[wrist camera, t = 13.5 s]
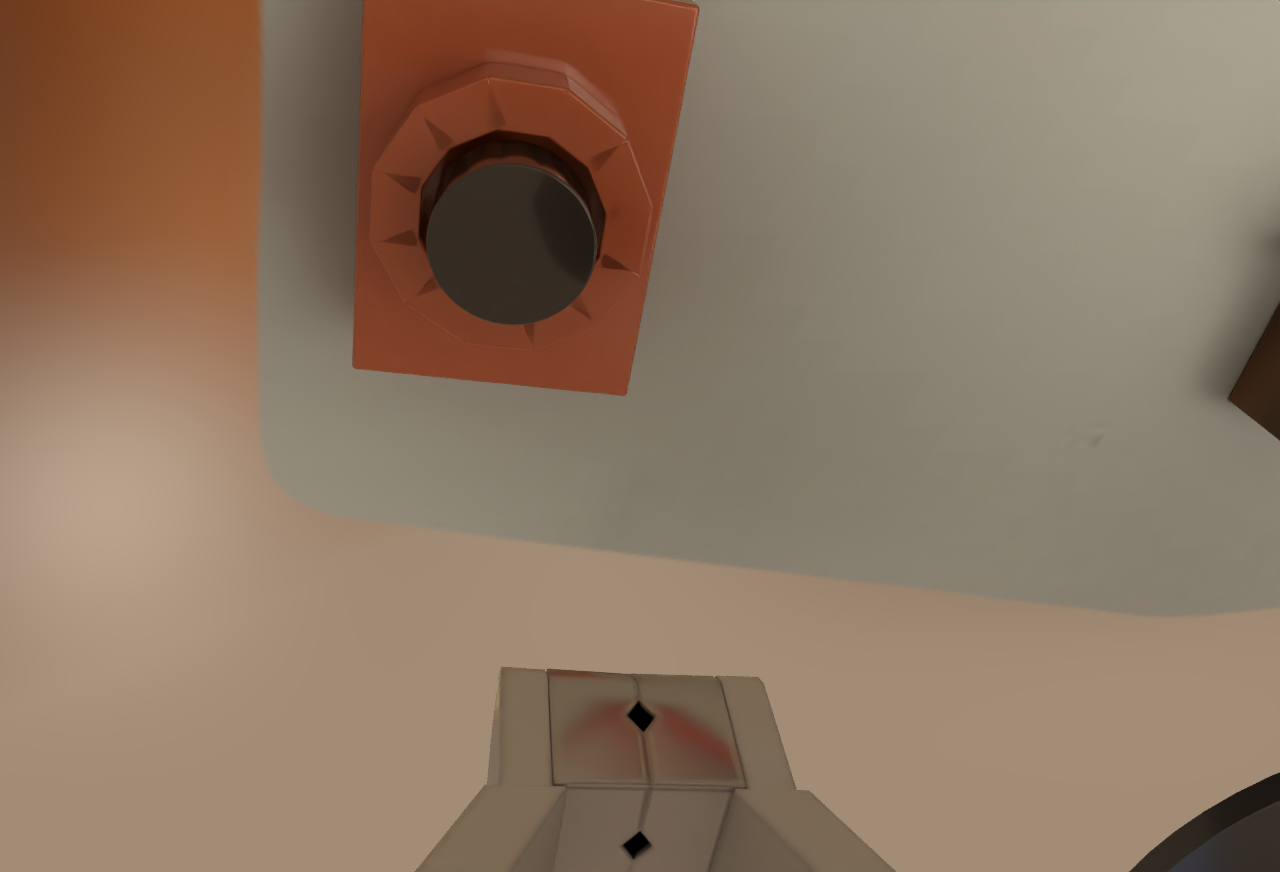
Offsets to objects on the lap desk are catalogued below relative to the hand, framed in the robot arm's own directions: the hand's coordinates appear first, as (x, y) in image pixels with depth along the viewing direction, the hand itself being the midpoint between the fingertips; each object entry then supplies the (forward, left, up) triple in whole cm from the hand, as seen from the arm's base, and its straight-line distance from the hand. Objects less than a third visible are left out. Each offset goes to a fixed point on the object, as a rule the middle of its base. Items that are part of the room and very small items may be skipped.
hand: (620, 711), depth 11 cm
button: (0, +1, -16) cm, 16 cm away
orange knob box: (0, +1, -21) cm, 21 cm away
